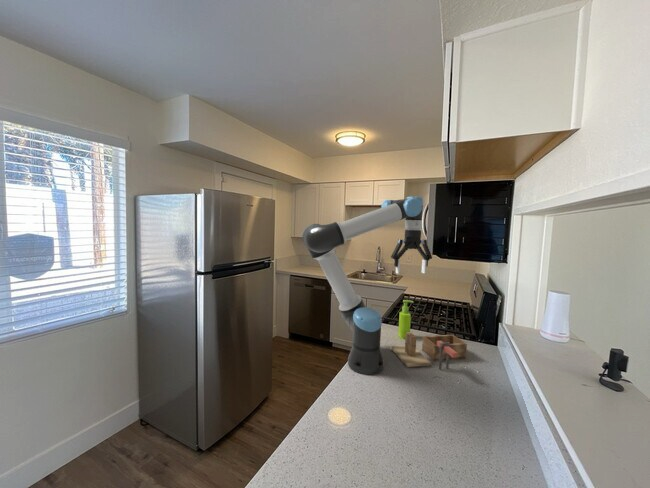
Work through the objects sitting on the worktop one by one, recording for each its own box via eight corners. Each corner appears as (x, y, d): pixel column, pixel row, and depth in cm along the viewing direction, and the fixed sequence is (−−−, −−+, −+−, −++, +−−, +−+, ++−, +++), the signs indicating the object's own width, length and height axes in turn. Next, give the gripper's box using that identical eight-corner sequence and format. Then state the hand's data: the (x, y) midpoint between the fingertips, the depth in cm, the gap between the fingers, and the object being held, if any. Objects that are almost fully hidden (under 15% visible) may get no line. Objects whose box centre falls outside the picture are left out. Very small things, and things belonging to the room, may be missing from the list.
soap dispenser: (413, 339, 143) (415, 302, 141) (399, 339, 143) (401, 302, 141) (409, 334, 149) (411, 299, 147) (397, 334, 149) (398, 298, 147)
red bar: (452, 357, 108) (453, 353, 108) (436, 344, 119) (437, 340, 119) (457, 357, 109) (457, 353, 108) (440, 344, 119) (441, 340, 119)
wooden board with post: (391, 350, 131) (392, 327, 130) (411, 349, 133) (412, 326, 132) (407, 369, 115) (408, 343, 114) (430, 367, 117) (432, 342, 116)
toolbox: (439, 369, 115) (441, 343, 114) (419, 350, 132) (420, 327, 130) (476, 366, 118) (478, 341, 117) (451, 348, 135) (453, 325, 133)
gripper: (391, 229, 124) (389, 275, 126) (441, 230, 129) (438, 274, 131) (385, 228, 132) (383, 272, 134) (432, 229, 136) (430, 271, 138)
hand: (410, 273), depth 132 cm, fingers open, 13 cm apart
